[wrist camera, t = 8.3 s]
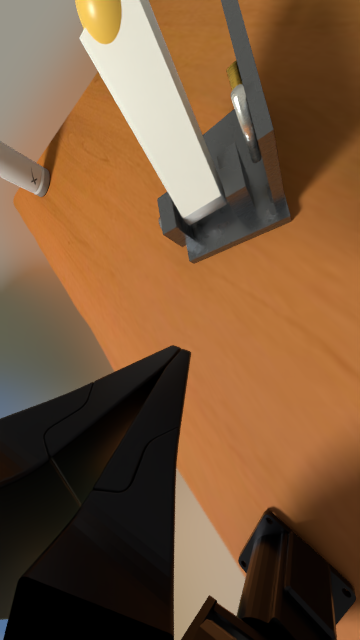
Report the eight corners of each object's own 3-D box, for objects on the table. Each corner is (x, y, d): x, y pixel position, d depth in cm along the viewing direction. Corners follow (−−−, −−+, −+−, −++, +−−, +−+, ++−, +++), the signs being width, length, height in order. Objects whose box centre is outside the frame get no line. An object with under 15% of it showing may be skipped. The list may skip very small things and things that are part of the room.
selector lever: (226, 211, 17) (85, -121, 8) (188, 232, 19) (45, -13, 10) (228, 196, 19) (119, -77, 10) (193, 216, 21) (80, 4, 12)
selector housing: (291, 221, 17) (279, 135, 9) (185, 267, 23) (125, 238, 15) (258, 101, 19) (226, -52, 11) (168, 173, 25) (108, 105, 17)
